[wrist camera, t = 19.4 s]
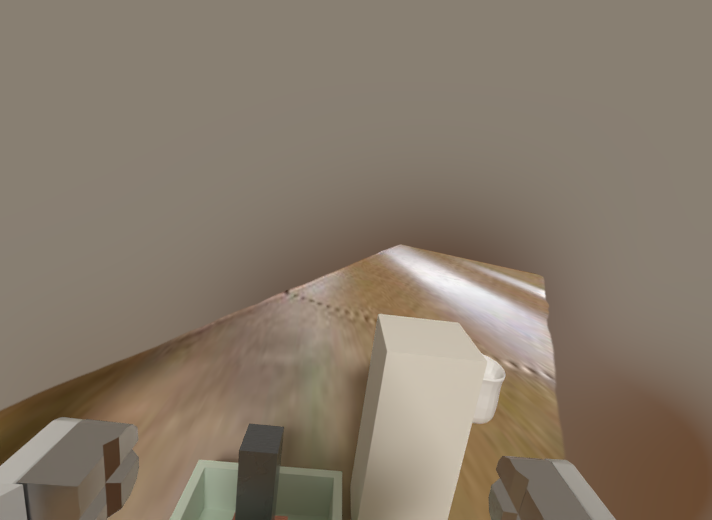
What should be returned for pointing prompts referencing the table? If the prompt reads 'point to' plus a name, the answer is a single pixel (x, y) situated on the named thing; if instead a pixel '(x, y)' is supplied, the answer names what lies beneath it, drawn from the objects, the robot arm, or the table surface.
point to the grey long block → (259, 473)
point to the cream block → (415, 419)
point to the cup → (489, 392)
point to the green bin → (294, 498)
